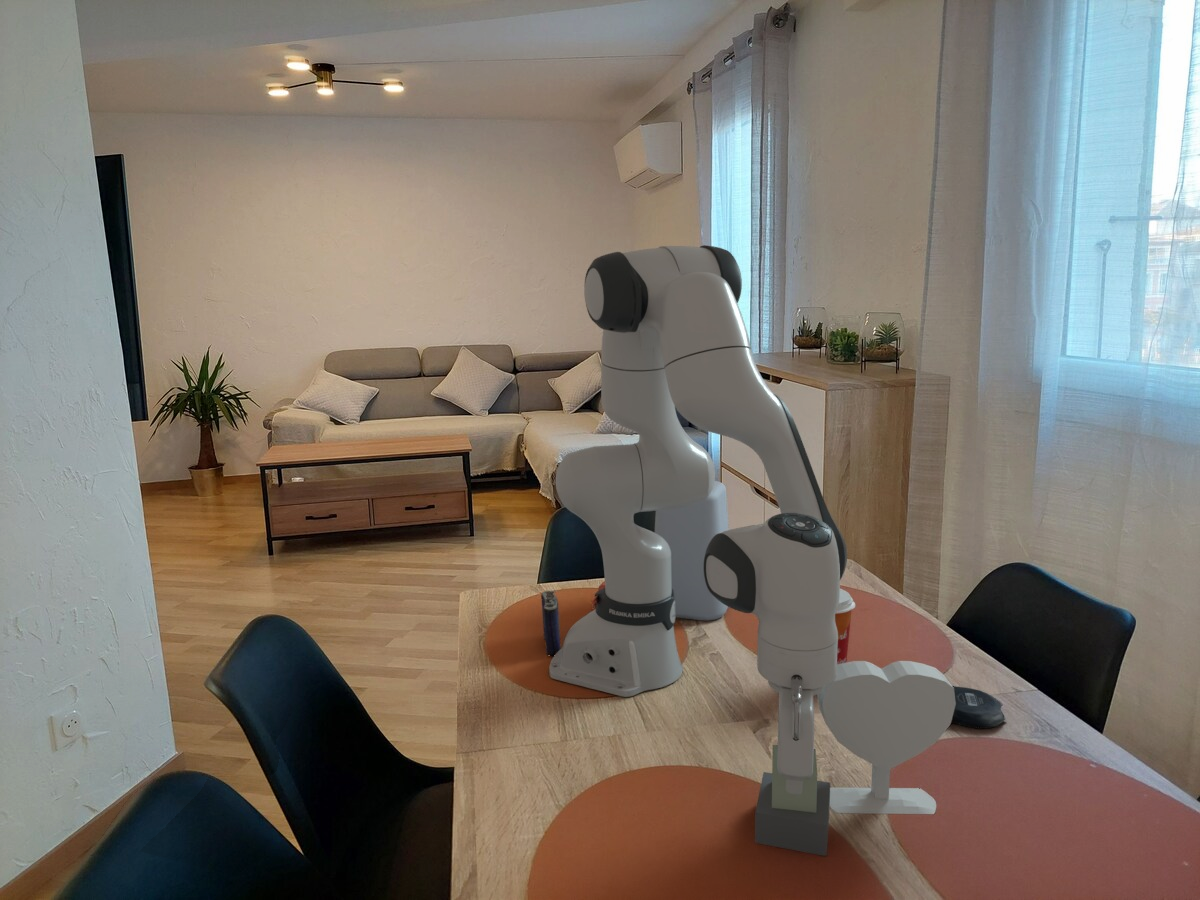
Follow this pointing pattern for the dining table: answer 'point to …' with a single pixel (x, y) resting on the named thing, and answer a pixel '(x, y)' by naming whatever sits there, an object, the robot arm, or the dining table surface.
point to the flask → (551, 622)
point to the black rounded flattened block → (976, 708)
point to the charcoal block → (792, 821)
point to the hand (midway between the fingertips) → (793, 765)
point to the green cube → (793, 801)
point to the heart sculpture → (886, 728)
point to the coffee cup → (843, 624)
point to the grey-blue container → (694, 552)
